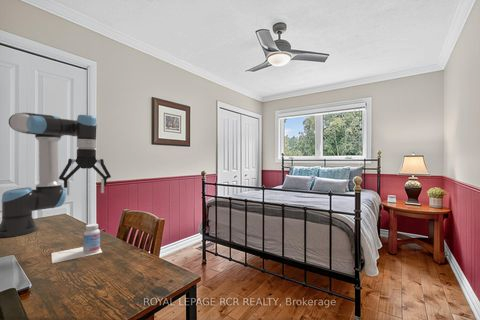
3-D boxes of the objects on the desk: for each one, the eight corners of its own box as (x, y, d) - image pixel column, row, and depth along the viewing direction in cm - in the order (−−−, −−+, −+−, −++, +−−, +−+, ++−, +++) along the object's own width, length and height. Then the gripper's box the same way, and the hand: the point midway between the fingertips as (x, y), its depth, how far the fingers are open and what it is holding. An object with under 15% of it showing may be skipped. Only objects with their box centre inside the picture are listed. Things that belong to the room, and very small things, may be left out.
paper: (51, 253, 100) (51, 252, 100) (97, 244, 111) (97, 243, 111) (52, 263, 90) (52, 263, 90) (102, 252, 101) (102, 252, 101)
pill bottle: (92, 254, 99) (92, 227, 99) (79, 252, 100) (79, 226, 100) (103, 248, 105) (103, 223, 105) (91, 247, 106) (91, 222, 106)
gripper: (52, 147, 100) (52, 197, 100) (117, 149, 115) (116, 192, 116) (52, 147, 105) (51, 194, 106) (114, 149, 121) (113, 190, 122)
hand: (85, 193), depth 111 cm, fingers open, 13 cm apart
